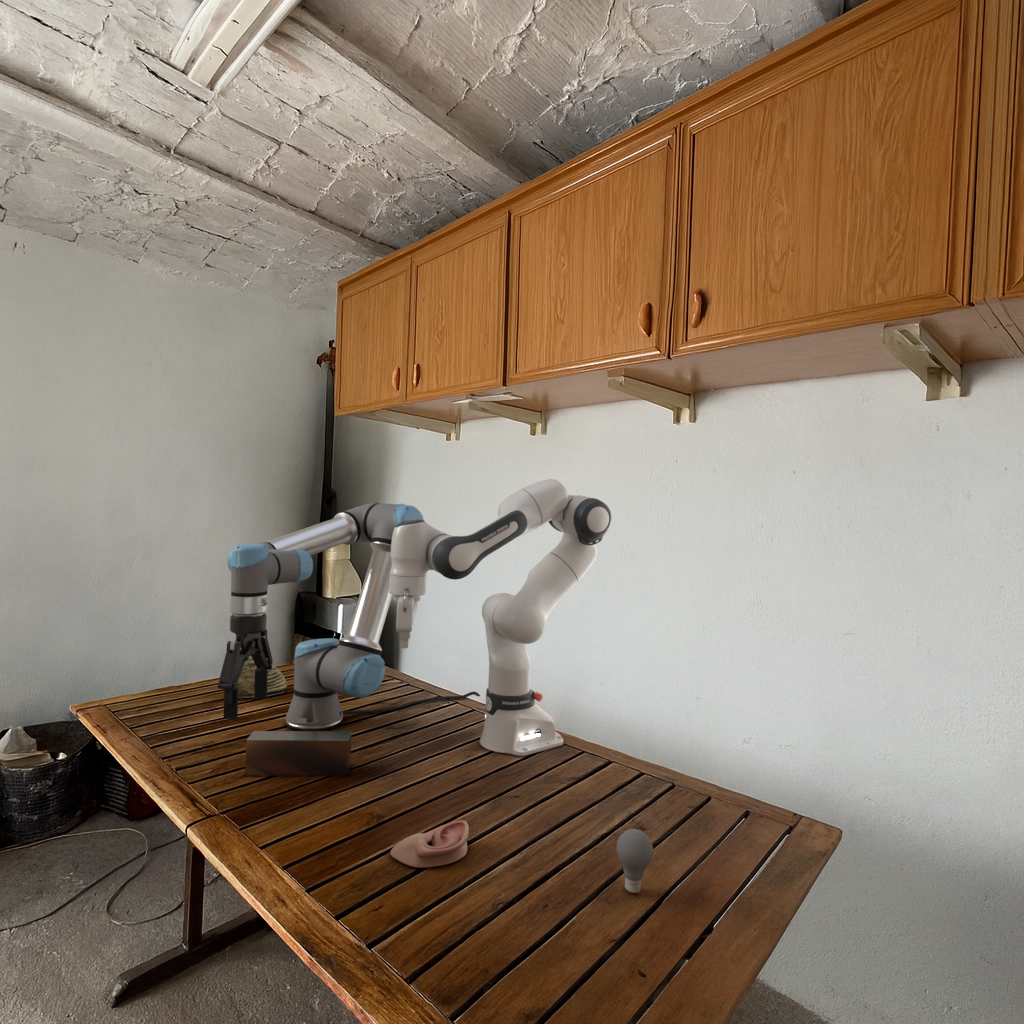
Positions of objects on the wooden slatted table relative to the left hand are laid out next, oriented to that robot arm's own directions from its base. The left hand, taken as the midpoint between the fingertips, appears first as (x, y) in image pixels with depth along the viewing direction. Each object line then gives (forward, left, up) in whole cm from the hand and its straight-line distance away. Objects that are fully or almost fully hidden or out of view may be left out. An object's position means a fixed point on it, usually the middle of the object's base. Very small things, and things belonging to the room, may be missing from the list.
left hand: (246, 707), depth 142 cm
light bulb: (-22, +86, -15) cm, 90 cm away
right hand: (-30, +18, +13) cm, 38 cm away
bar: (-10, +6, -15) cm, 19 cm away
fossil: (-31, -51, -15) cm, 62 cm away
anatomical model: (-7, +53, -15) cm, 55 cm away
